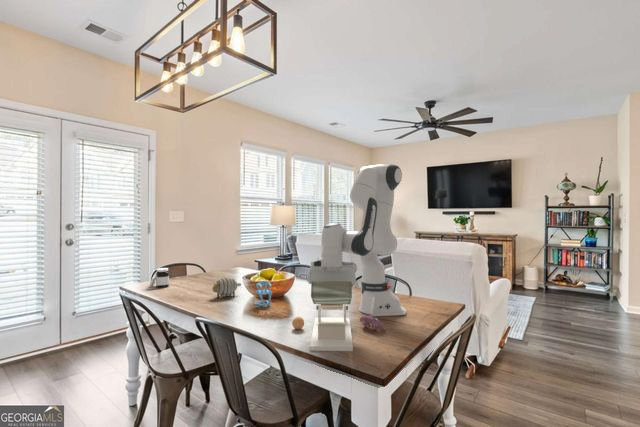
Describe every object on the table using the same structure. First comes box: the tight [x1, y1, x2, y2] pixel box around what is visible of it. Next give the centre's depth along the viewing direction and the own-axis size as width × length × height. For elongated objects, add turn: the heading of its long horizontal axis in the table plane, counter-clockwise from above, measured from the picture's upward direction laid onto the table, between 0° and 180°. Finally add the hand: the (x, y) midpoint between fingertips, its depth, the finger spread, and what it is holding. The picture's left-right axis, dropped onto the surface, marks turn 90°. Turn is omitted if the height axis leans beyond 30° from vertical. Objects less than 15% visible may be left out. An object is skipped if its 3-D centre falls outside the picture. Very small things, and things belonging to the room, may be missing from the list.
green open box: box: [310, 281, 353, 311], centre depth 132 cm, size 30×15×6 cm, turn 177°
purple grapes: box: [359, 314, 386, 331], centre depth 137 cm, size 10×5×7 cm, turn 45°
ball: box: [291, 316, 305, 330], centre depth 137 cm, size 5×5×5 cm
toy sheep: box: [212, 276, 242, 299], centre depth 190 cm, size 11×17×11 cm, turn 133°
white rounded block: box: [149, 267, 170, 289], centre depth 216 cm, size 12×11×12 cm
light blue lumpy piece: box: [253, 280, 273, 308], centre depth 173 cm, size 8×8×12 cm
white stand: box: [309, 304, 354, 352], centre depth 131 cm, size 32×15×8 cm, turn 177°
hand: (331, 294), depth 138 cm, fingers closed
